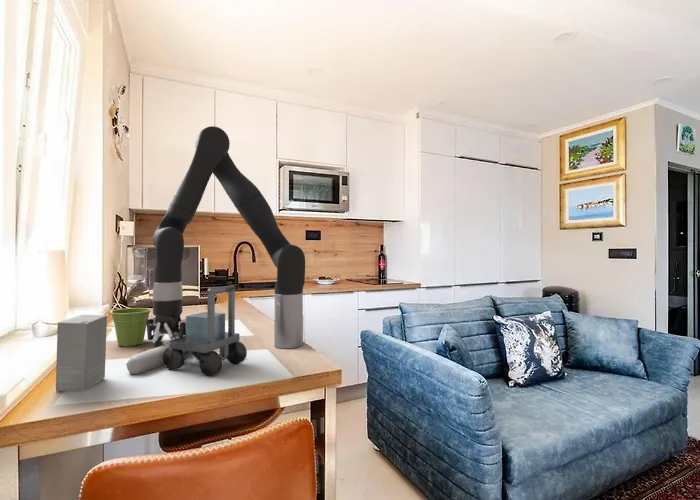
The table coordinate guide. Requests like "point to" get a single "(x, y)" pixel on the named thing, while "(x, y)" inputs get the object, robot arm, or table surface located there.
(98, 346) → the skincare box
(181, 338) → the trolley
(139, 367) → the tube
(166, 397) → the table surface
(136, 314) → the plant pot
